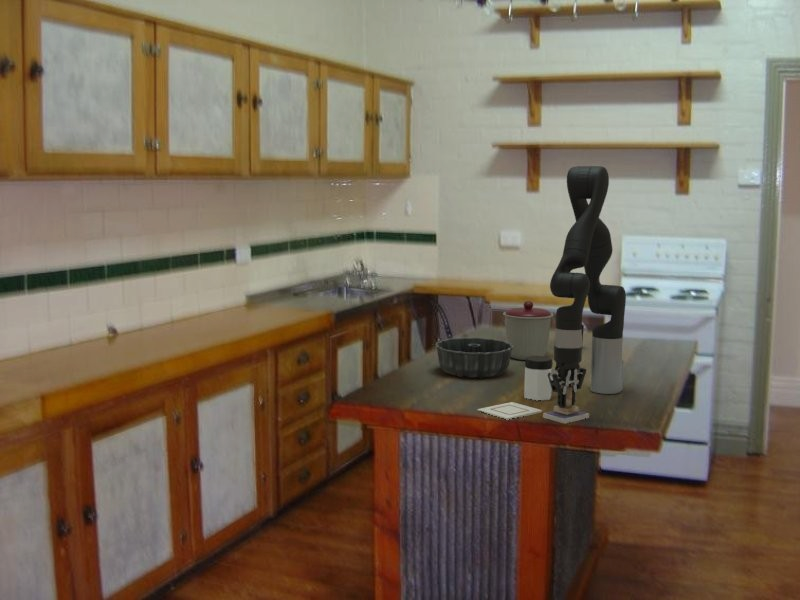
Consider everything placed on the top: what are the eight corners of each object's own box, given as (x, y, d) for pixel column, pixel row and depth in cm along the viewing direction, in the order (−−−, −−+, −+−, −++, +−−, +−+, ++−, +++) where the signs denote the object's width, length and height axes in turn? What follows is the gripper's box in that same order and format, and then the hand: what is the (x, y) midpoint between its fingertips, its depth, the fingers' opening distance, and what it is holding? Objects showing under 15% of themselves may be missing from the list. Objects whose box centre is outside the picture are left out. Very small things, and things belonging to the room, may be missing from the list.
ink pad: (567, 411, 265) (567, 407, 264) (589, 417, 258) (589, 412, 258) (542, 417, 258) (543, 412, 258) (564, 423, 252) (564, 418, 252)
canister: (555, 363, 332) (557, 304, 329) (504, 362, 332) (505, 304, 329) (548, 353, 350) (549, 298, 347) (500, 353, 350) (501, 297, 347)
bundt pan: (509, 383, 300) (510, 353, 298) (428, 379, 305) (429, 349, 304) (516, 367, 325) (516, 339, 324) (441, 363, 331) (441, 336, 329)
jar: (557, 397, 281) (559, 358, 280) (542, 402, 275) (543, 362, 274) (533, 392, 287) (534, 354, 286) (517, 397, 282) (518, 358, 280)
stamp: (565, 409, 261) (565, 384, 260) (578, 413, 258) (579, 387, 257) (553, 412, 258) (554, 387, 257) (566, 416, 255) (567, 390, 254)
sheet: (512, 404, 273) (512, 401, 273) (542, 412, 264) (542, 410, 264) (477, 411, 265) (477, 409, 265) (507, 420, 255) (507, 418, 255)
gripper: (574, 340, 263) (572, 399, 265) (540, 345, 254) (538, 407, 256) (595, 343, 257) (593, 404, 259) (561, 349, 248) (559, 412, 251)
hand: (566, 405), depth 258 cm, fingers closed on stamp, 3 cm apart
